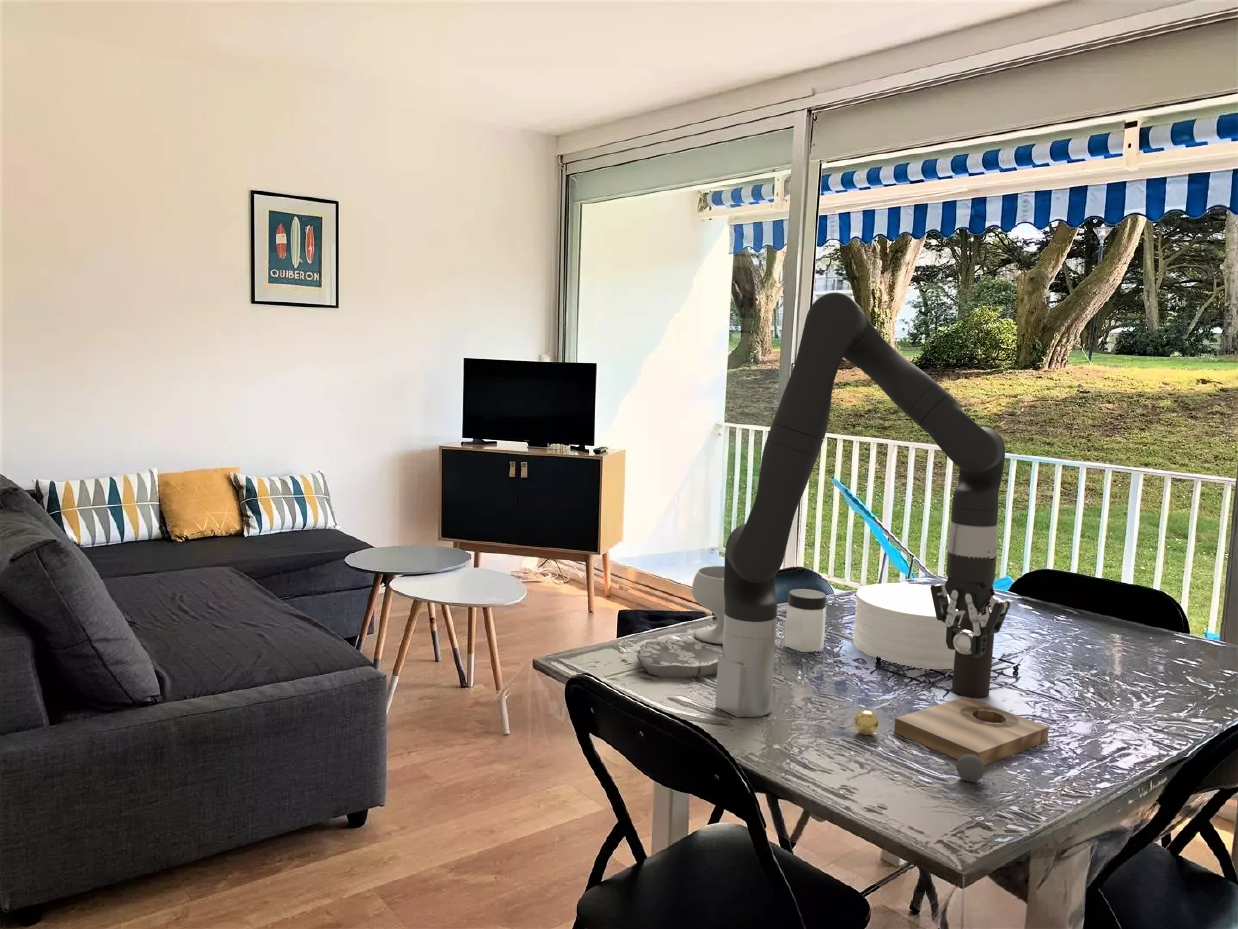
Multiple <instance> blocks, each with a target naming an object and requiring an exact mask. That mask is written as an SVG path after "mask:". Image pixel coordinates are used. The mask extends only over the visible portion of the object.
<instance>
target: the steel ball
mask: <svg viewBox="0 0 1238 929" xmlns="http://www.w3.org/2000/svg"><path fill="white" fill-rule="evenodd" d="M973 635H975V634H974V633H973V632H972V631H969V630H961V631H958V632H957V633H956V634H955V635H954V637H953V645H954V647H955V649H956V650H957V651H958V652H959V653H961V654H971V653H972V638H973Z"/></svg>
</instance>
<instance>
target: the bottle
mask: <svg viewBox="0 0 1238 929" xmlns="http://www.w3.org/2000/svg"><path fill="white" fill-rule="evenodd" d="M989 607H991V603H990V604H989V605H988V612H989V616H990V614H991V610H990V611H989ZM977 614H978V615H979V614H980V613H977ZM958 626H959V627H961V629H960V631H961V630H969V631H972V632H973V633H974V630H973V624H972V621H970V617H969V613H968V612H965V613H964V614H963V616H962V619H961V622H960V624H959V625H958ZM994 641H995V633H994V634H990V635H987V644H986V652H985V654H983V656H982V657H978V658H975V657H972V655H971V654H961V653H959V652H958V651H957V650H956V649H955V657H954V669H953V670H952V671H953V672H952V673H953V674H952V681H951V682H952V683H951V684H952V686H951V689H952V690H953V692H954V693H955V694H958V695H960V696H963V697H969V698H971V699H981V698H982V699H983V698H986V697H988V696H989V695H990V689H991V688H990V686H991V678H992V677H991V675H992V664H993V653H994V652H993V650H994V643H995V642H994Z"/></svg>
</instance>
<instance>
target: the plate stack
mask: <svg viewBox="0 0 1238 929" xmlns="http://www.w3.org/2000/svg"><path fill="white" fill-rule="evenodd" d="M931 586H932V585H929V584H928V585H926V584H920V583H919V584H915V583H906V582H905V583H900V582H898V583H897V582H889V583H886V582H885V583H874V584H869V585H865V586H863V587H860V588H859V589H857V590H856V593H855V594H856V597H855V600H856V602H855V607H854V608H855V614H854V624H853V625H854V626H853V633H854V634H853V638H852V643H853V645H855V646H856V647H855V646H854V647H855V648H856V649H857V650H858V651H860V650H861V651H862V653H863V652H864V653H863V654H864V655H866V656H869V657H871V656H873V657H877V656H879V657H881V658H883V659H885V660H887V661H889V662H894V663H897V664H901V665H906V666H905V667H907V666H912V667H911V668H913V667H915V669H920V668H922V669H921V670H930V669H954V657H955V650H951V649H948V645H947V644H946V630H947V626H946V625H945V623H944V622H943V621H939V620H937V618H936V613H935V608H934V603H933V599H932V594H931V589H930V587H931ZM947 596H948V601H949V603H950V600H951V599H950V597H949V595H947ZM989 611H990V612H991V609H990V607H989ZM861 651H860V652H861ZM873 657H872V658H873ZM889 662H888V663H889ZM897 664H896V665H897ZM901 665H900V666H901Z"/></svg>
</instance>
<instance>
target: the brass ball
mask: <svg viewBox="0 0 1238 929" xmlns="http://www.w3.org/2000/svg"><path fill="white" fill-rule="evenodd" d="M853 723H854V724H853V725H854V727H855V729H856V730H857V731H858V732H859V733H860V734H862V735H864V736H869V735H872V734H874V733H876V731H877V730H878V728H879V718H878V717H877V715H876V714H875V713H874V712H872V711H871V710H866V709H865V710H861V711H859V712H858V713H857V714H856V715H855V717H854V720H853Z"/></svg>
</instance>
